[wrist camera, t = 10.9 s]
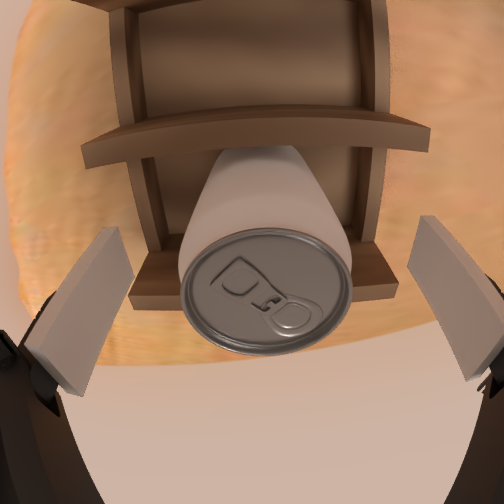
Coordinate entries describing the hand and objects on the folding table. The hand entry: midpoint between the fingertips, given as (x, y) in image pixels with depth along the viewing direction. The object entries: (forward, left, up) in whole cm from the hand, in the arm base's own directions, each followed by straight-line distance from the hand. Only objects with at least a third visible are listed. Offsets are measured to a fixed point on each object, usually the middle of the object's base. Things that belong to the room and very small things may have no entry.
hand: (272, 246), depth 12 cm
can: (0, 0, -9) cm, 9 cm away
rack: (-4, 0, -10) cm, 11 cm away
